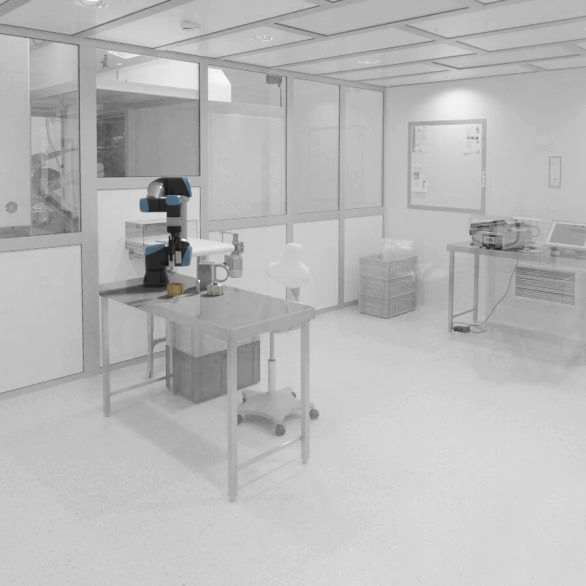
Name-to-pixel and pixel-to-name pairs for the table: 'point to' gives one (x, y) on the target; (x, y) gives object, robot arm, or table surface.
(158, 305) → the table surface
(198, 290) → the gear plate
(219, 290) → the gear
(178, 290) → the brass gear
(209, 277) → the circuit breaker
